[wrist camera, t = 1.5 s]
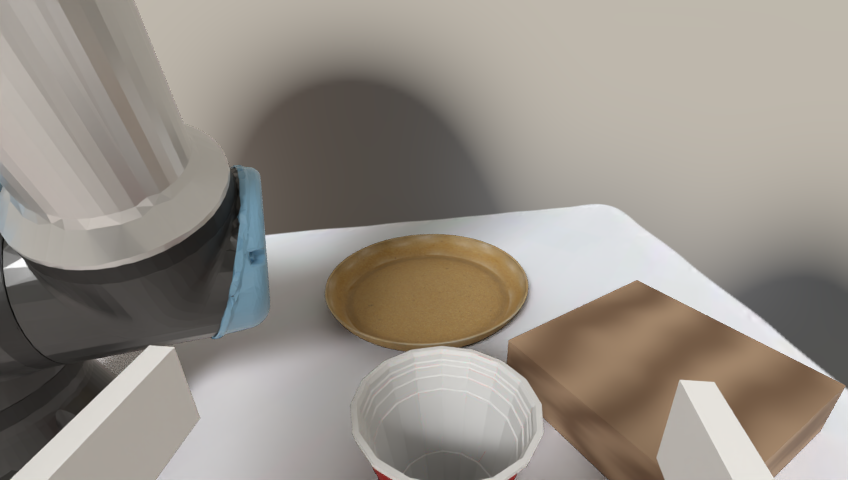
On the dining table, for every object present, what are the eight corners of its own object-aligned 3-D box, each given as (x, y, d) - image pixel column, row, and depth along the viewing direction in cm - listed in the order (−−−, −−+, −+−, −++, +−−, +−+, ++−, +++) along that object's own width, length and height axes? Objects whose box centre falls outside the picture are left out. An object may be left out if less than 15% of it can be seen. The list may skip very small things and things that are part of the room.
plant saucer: (285, 316, 52) (280, 293, 51) (408, 238, 70) (407, 219, 68) (458, 406, 40) (459, 379, 38) (556, 284, 57) (559, 261, 55)
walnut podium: (505, 381, 42) (508, 340, 40) (628, 317, 50) (636, 280, 48) (692, 559, 28) (713, 511, 26) (820, 430, 36) (845, 385, 34)
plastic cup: (539, 482, 33) (557, 359, 27) (508, 658, 24) (525, 528, 18) (406, 438, 37) (398, 322, 31) (337, 576, 28) (308, 448, 22)
